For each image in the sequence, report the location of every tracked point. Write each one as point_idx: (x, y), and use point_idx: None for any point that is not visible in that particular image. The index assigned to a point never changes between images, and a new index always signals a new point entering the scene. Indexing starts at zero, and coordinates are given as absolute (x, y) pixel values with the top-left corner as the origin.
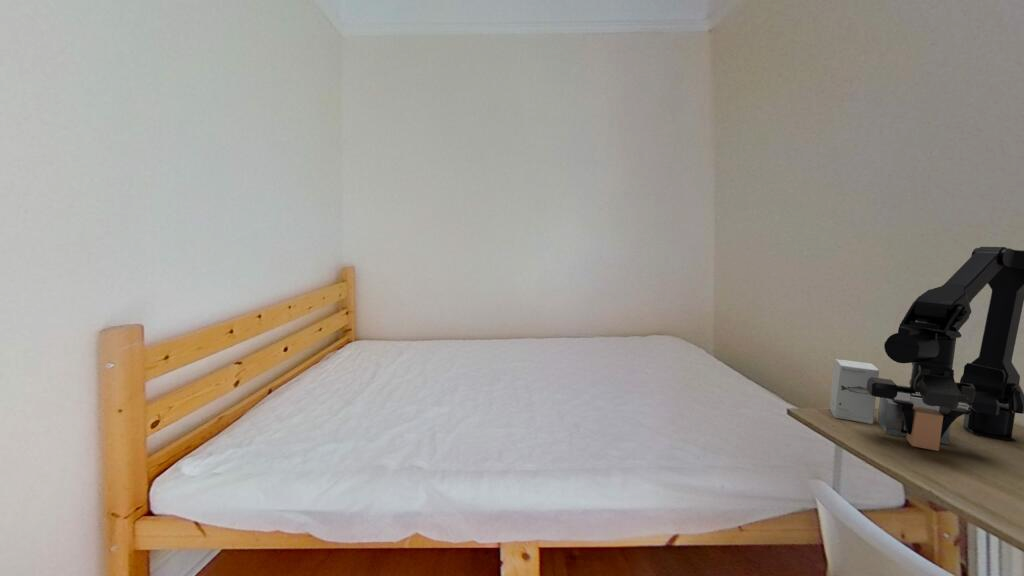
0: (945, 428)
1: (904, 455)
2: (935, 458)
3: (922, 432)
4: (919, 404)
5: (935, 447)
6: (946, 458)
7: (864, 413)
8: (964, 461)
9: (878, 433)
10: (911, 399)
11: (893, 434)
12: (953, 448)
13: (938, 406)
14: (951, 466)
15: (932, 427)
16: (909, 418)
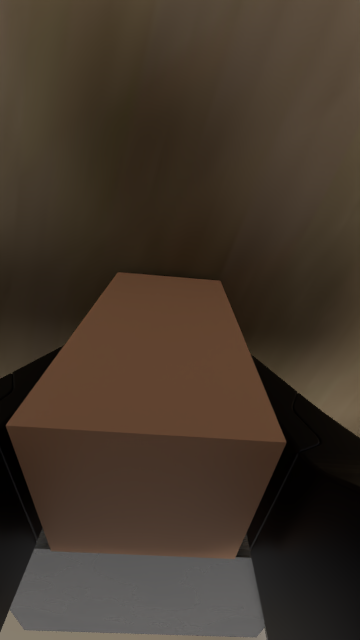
0: (46, 361)
1: (320, 115)
2: (158, 164)
3: (190, 313)
4: (126, 590)
5: (129, 276)
6: (103, 199)
7: None
8: (29, 200)
9: (287, 381)
10: (142, 620)
11: None
12: (51, 351)
13: (32, 594)
14: (106, 47)
15: (133, 333)
16: (276, 396)
